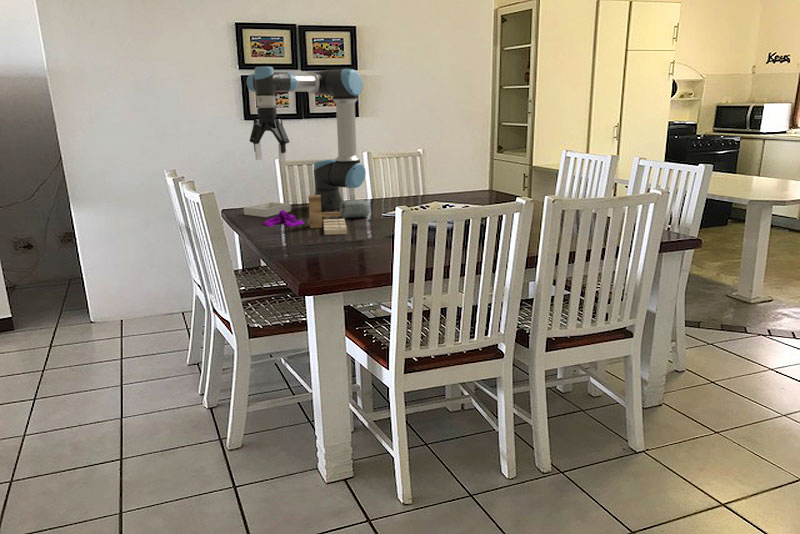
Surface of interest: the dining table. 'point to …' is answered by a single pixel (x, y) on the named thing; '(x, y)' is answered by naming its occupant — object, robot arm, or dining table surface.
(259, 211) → the white shallow tray
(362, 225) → the dining table surface
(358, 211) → the spool
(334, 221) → the board
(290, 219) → the cloth
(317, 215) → the tan angular block
